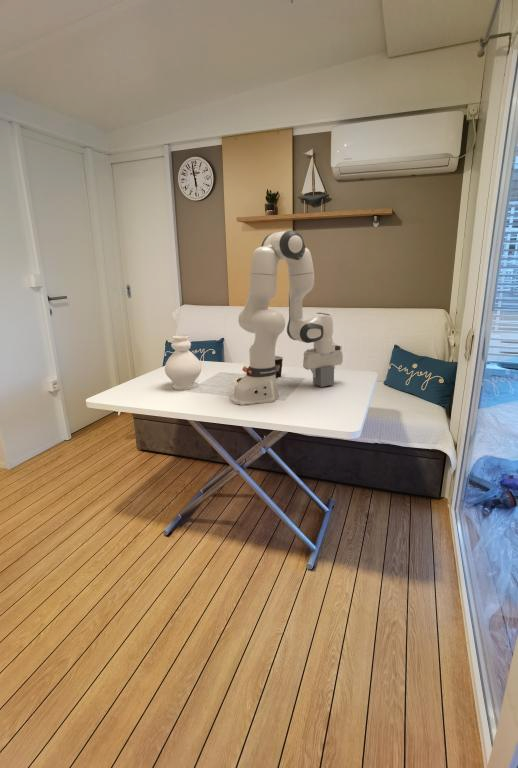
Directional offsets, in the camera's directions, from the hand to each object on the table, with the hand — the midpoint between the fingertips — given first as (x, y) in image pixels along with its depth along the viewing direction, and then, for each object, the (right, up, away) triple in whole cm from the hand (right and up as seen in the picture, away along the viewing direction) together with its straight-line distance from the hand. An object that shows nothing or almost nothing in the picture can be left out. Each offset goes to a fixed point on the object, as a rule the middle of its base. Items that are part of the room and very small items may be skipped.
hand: (322, 375), depth 196 cm
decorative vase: (-68, -5, +8) cm, 68 cm away
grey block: (0, -4, +1) cm, 4 cm away
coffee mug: (-24, 0, +20) cm, 31 cm away
